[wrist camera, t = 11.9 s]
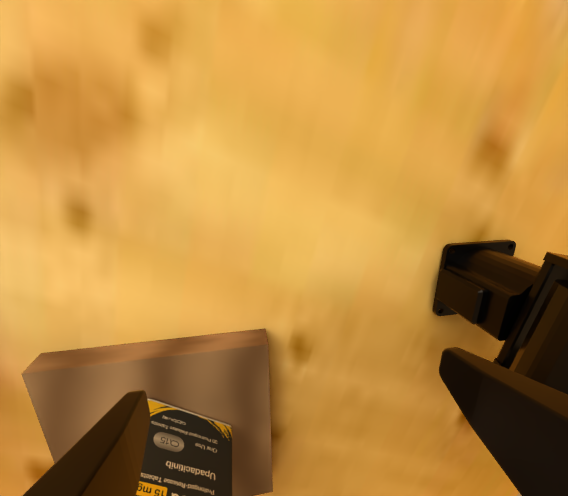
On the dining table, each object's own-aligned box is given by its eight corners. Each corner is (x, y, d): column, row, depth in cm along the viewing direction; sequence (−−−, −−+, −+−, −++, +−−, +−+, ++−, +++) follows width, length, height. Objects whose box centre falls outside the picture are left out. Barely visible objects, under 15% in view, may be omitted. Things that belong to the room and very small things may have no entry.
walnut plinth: (265, 328, 23) (268, 344, 21) (269, 468, 28) (272, 491, 26) (40, 353, 20) (21, 373, 18) (91, 503, 25) (79, 531, 23)
